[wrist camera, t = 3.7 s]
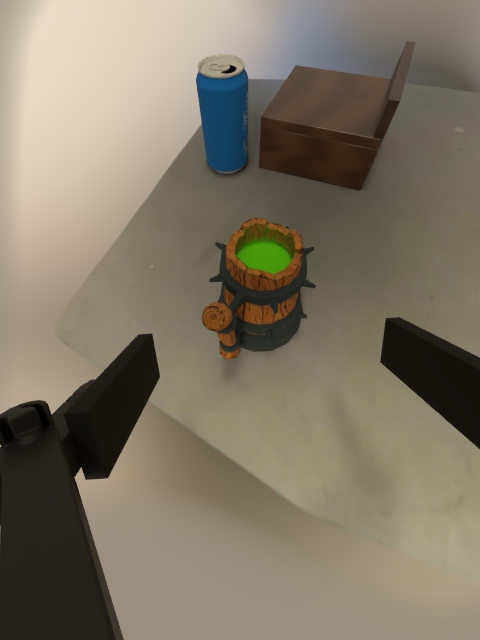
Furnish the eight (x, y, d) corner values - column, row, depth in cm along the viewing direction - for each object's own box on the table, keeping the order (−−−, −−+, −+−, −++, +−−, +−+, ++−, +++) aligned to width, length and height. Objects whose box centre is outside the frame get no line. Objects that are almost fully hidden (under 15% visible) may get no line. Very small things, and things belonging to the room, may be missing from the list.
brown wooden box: (258, 167, 41) (262, 78, 31) (289, 115, 47) (300, 28, 37) (360, 190, 38) (400, 100, 28) (378, 132, 44) (415, 42, 34)
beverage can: (239, 180, 39) (236, 81, 29) (201, 172, 41) (185, 73, 30) (253, 156, 42) (255, 56, 31) (217, 148, 43) (207, 50, 32)
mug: (242, 263, 32) (239, 178, 22) (317, 297, 30) (355, 219, 20) (182, 348, 28) (143, 289, 17) (266, 396, 25) (279, 362, 15)
